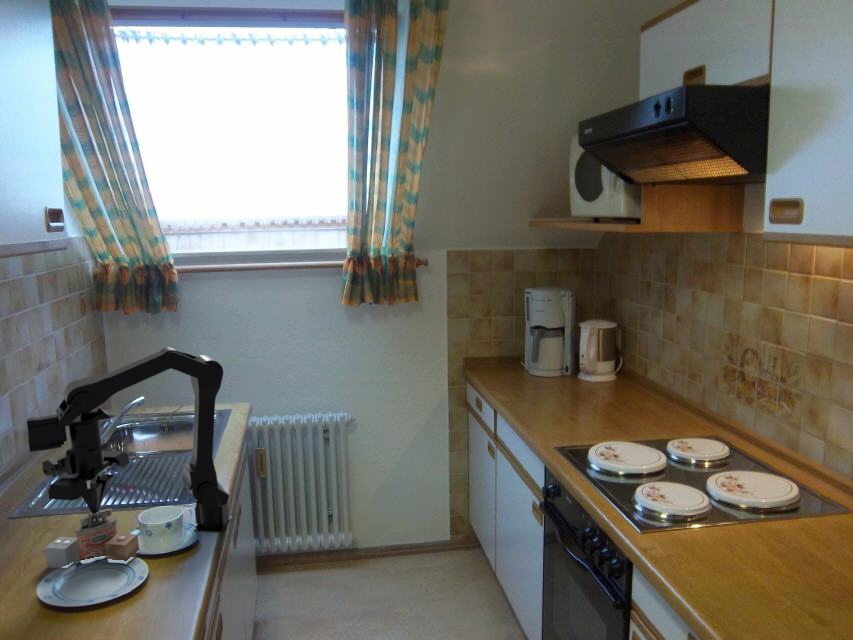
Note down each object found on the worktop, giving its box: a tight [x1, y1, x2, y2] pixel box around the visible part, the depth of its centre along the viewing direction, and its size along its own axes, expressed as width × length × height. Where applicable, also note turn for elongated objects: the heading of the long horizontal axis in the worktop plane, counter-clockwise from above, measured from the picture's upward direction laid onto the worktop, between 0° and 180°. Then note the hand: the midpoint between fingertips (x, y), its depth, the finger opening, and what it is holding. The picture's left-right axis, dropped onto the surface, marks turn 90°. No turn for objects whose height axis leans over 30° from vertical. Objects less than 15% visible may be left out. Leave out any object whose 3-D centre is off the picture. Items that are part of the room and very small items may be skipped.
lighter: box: [74, 508, 118, 562], centre depth 143 cm, size 8×3×10 cm, turn 129°
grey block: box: [44, 536, 79, 569], centre depth 142 cm, size 4×4×5 cm
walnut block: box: [105, 532, 140, 561], centre depth 143 cm, size 4×4×5 cm
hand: (94, 512), depth 142 cm, fingers closed
